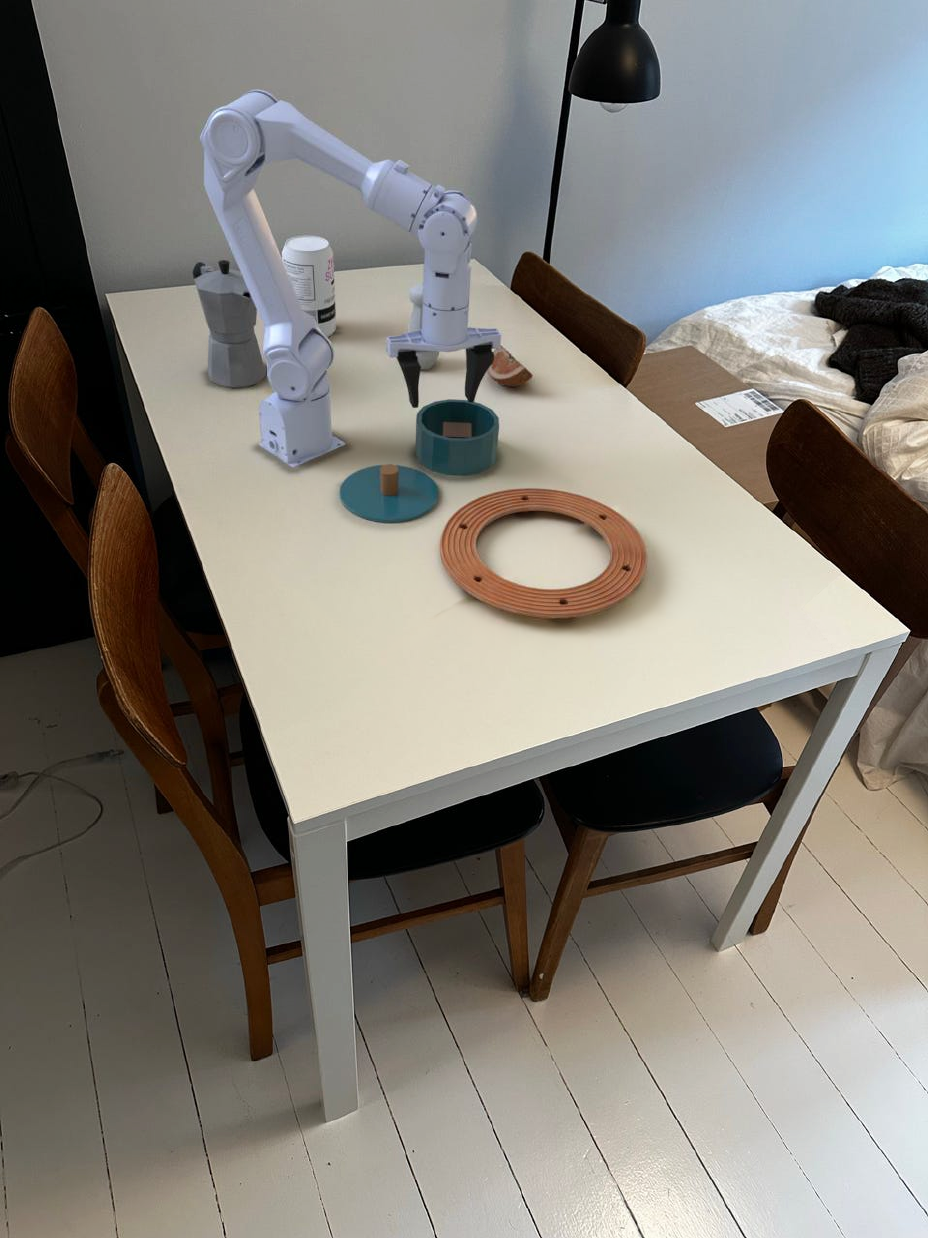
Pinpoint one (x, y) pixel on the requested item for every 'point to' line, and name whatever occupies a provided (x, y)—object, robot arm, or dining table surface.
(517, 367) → the fruit slice
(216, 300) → the coffeepot
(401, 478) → the lid
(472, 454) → the tin
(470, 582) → the ring
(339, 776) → the dining table surface
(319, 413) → the robot arm
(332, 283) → the supplement can
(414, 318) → the salt shaker
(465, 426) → the block
